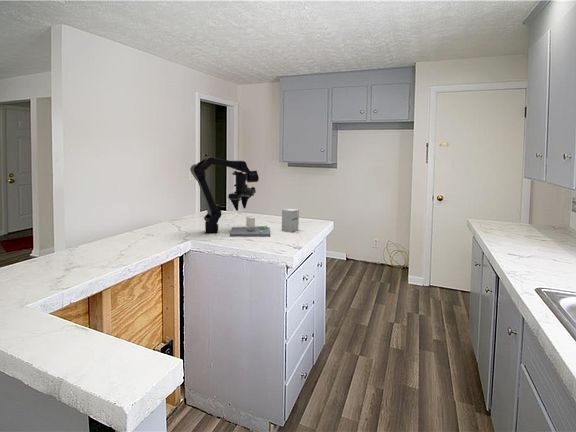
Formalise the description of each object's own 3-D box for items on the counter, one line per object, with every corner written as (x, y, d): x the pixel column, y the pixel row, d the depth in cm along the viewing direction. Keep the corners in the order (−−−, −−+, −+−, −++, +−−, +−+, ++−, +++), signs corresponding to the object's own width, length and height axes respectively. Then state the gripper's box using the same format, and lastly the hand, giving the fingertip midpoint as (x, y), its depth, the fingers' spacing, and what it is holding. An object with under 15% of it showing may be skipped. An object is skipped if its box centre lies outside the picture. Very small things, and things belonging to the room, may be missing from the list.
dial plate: (229, 236, 199) (229, 231, 199) (232, 229, 216) (232, 225, 215) (270, 236, 201) (270, 231, 200) (269, 229, 217) (269, 225, 217)
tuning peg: (248, 231, 204) (248, 218, 203) (245, 229, 210) (245, 216, 208) (269, 230, 209) (269, 217, 208) (265, 227, 215) (265, 215, 213)
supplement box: (291, 232, 212) (291, 210, 209) (281, 230, 216) (281, 209, 214) (298, 230, 218) (299, 209, 215) (288, 228, 222) (289, 207, 220)
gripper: (245, 184, 200) (245, 213, 203) (260, 182, 217) (260, 208, 220) (227, 183, 204) (228, 211, 207) (243, 181, 221) (243, 206, 224)
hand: (240, 209), depth 215 cm, fingers open, 9 cm apart
